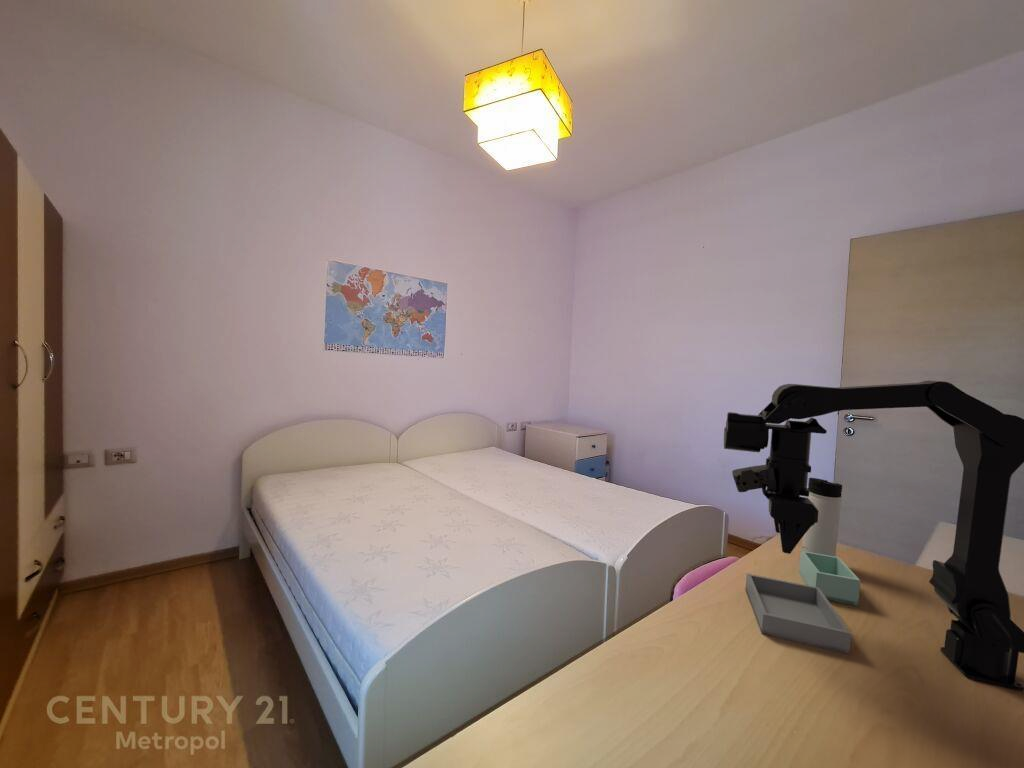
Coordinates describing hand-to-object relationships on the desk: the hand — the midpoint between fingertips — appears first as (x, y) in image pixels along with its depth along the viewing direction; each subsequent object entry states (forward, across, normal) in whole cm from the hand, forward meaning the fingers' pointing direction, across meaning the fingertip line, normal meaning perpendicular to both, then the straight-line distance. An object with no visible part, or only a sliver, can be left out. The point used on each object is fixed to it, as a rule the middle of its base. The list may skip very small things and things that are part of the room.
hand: (782, 542), depth 73 cm
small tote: (+14, -18, +10) cm, 25 cm away
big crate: (+14, -2, +2) cm, 14 cm away
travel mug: (+14, -30, +11) cm, 35 cm away
